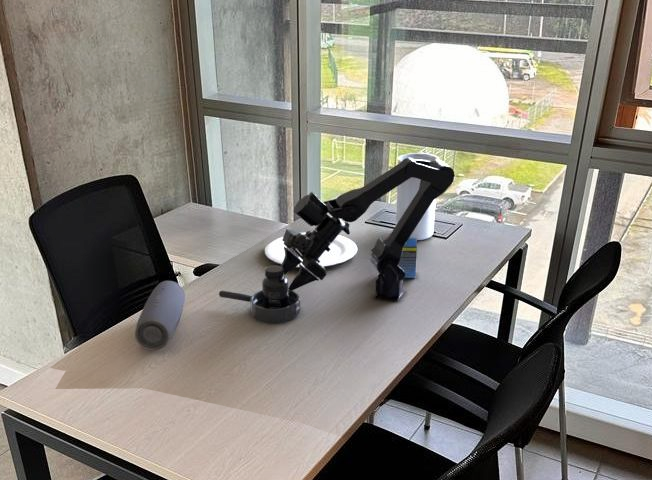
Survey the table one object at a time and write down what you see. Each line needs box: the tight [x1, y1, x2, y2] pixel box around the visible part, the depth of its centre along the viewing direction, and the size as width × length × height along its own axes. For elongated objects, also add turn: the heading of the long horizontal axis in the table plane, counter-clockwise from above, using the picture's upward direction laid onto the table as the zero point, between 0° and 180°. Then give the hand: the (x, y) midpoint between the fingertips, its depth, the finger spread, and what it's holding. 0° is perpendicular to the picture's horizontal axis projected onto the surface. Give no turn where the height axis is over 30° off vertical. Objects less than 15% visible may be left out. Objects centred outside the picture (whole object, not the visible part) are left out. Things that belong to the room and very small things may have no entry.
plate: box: [264, 232, 358, 269], centre depth 226 cm, size 29×29×2 cm
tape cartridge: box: [398, 238, 418, 279], centre depth 207 cm, size 9×4×12 cm, turn 84°
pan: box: [249, 289, 301, 324], centre depth 191 cm, size 13×13×4 cm
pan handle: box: [218, 290, 254, 303], centre depth 195 cm, size 11×2×2 cm, turn 67°
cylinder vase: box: [395, 152, 440, 241], centre depth 232 cm, size 12×12×25 cm
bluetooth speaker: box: [134, 280, 186, 351], centre depth 182 cm, size 23×9×10 cm, turn 178°
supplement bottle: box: [261, 265, 289, 309], centre depth 189 cm, size 7×7×12 cm
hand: (284, 283), depth 189 cm, fingers open, 9 cm apart
